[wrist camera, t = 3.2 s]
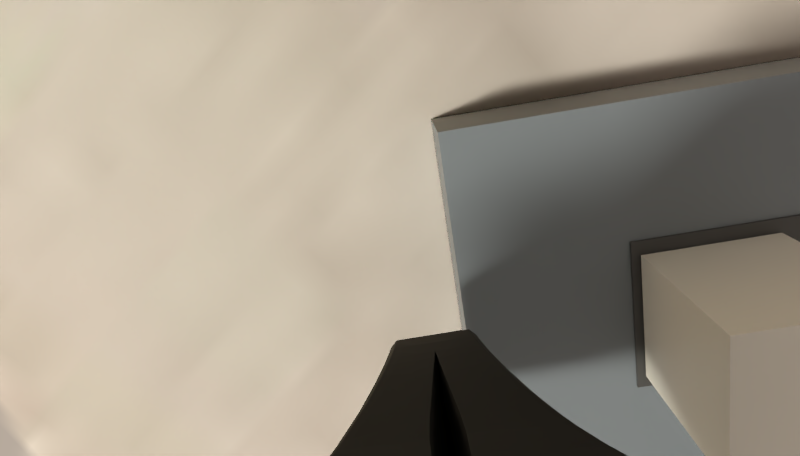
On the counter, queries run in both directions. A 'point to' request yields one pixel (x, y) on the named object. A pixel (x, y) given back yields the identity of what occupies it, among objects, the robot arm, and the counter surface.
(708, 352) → the tab
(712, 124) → the switch board
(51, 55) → the counter surface
